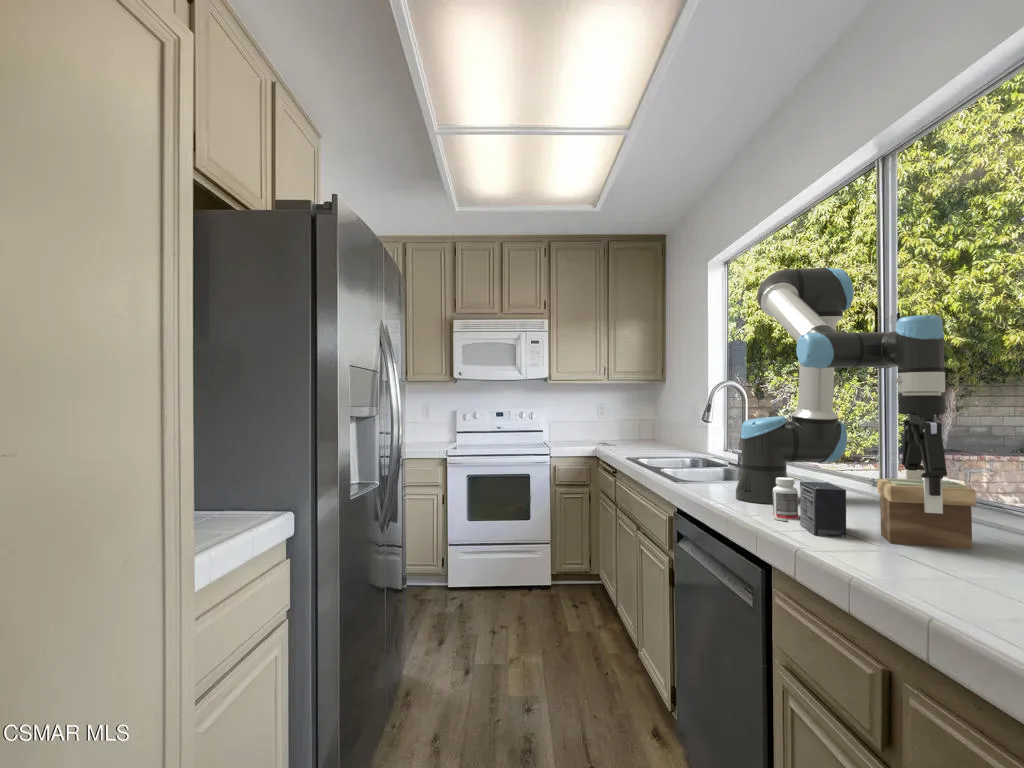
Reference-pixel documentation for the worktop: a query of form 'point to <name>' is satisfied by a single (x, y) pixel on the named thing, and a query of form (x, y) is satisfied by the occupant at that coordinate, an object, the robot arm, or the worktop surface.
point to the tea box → (926, 525)
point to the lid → (915, 491)
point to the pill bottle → (785, 499)
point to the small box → (823, 509)
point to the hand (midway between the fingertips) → (923, 507)
